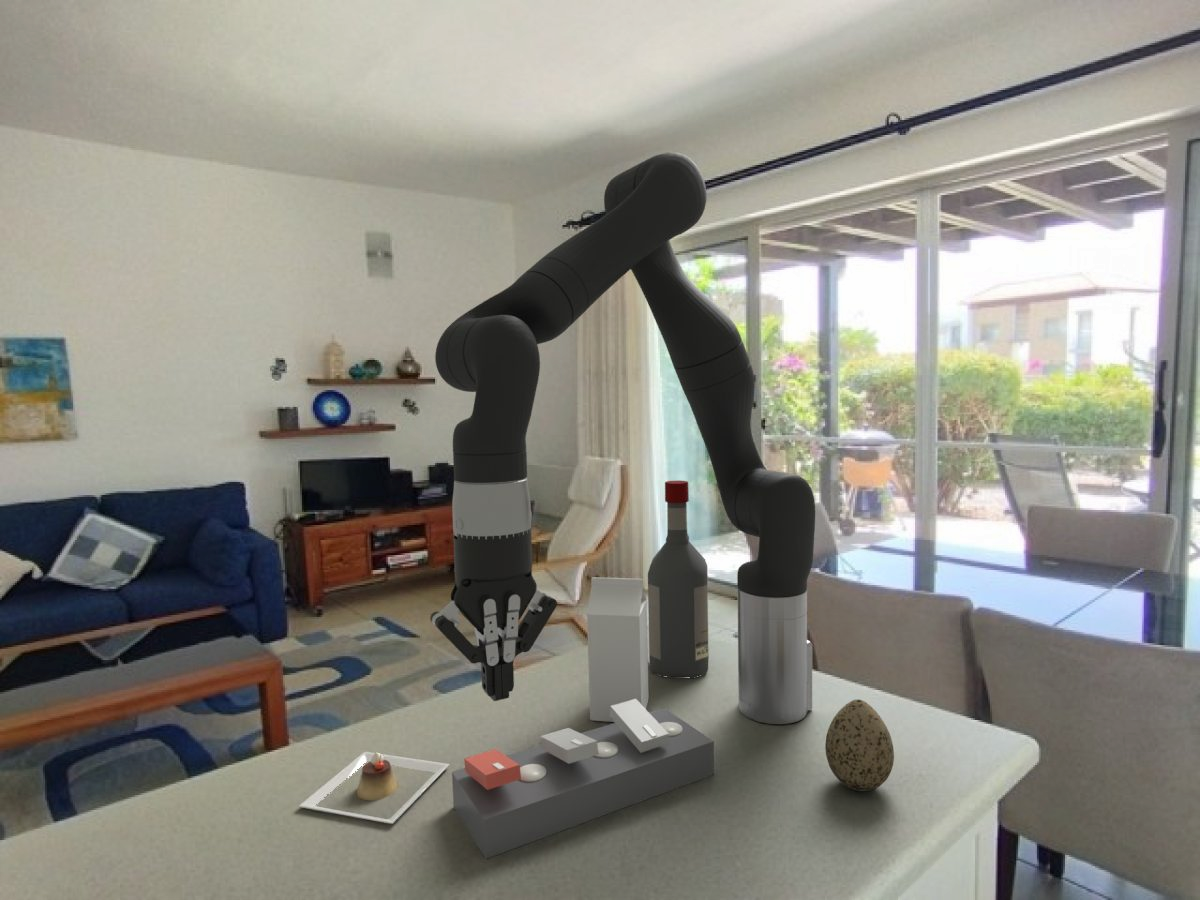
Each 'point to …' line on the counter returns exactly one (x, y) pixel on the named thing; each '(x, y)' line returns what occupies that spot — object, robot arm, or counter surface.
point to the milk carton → (616, 645)
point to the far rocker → (638, 725)
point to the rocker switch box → (579, 784)
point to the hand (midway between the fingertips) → (498, 696)
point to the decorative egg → (859, 747)
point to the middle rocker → (569, 745)
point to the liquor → (678, 596)
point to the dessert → (375, 782)
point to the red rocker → (492, 769)
